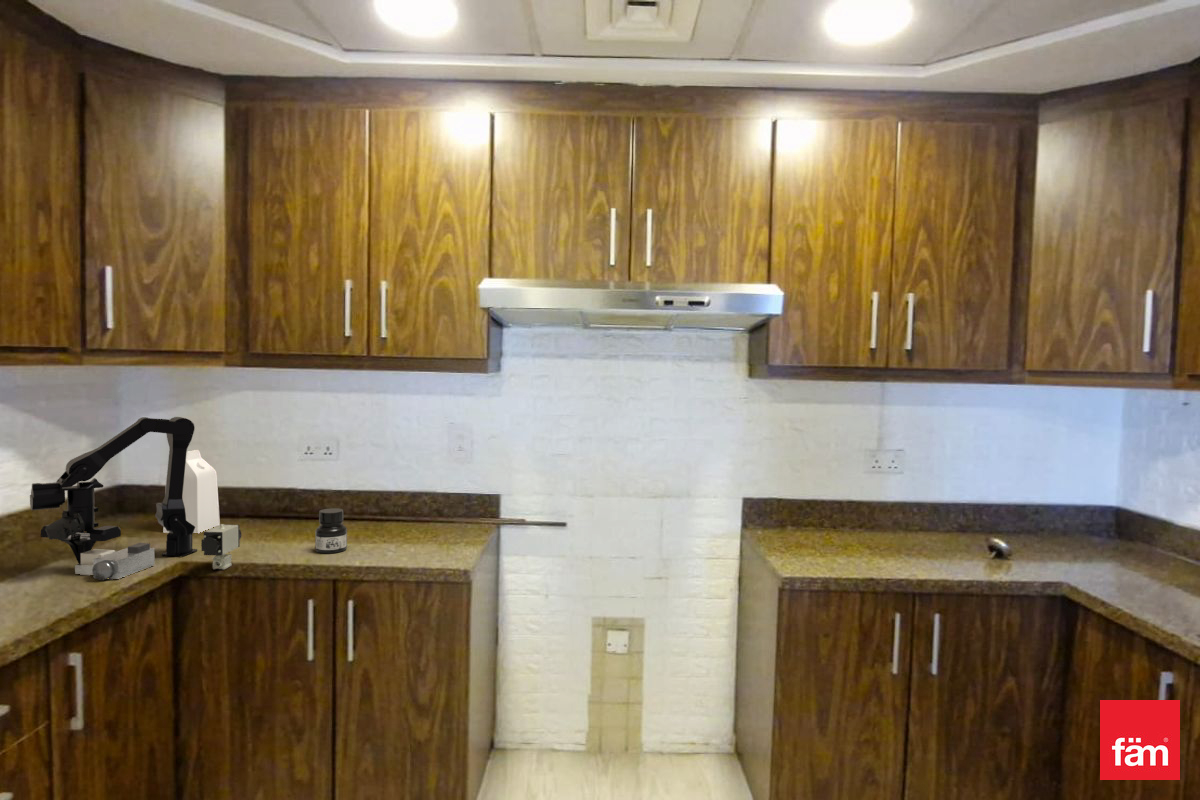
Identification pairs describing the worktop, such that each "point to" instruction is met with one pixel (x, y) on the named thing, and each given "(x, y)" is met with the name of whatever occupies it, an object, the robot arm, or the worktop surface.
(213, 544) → the pneumatic valve
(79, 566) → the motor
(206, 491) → the milk
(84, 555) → the white block
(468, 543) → the worktop surface
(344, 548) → the ink bottle
